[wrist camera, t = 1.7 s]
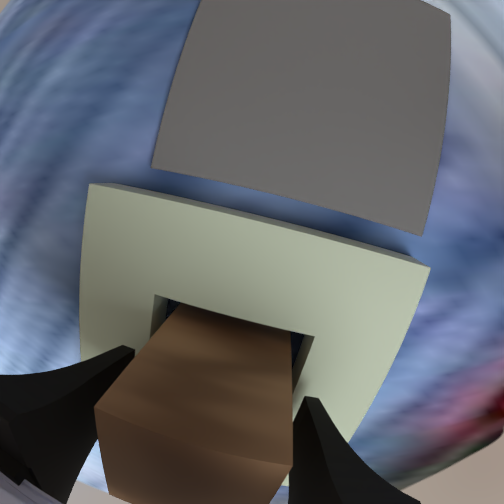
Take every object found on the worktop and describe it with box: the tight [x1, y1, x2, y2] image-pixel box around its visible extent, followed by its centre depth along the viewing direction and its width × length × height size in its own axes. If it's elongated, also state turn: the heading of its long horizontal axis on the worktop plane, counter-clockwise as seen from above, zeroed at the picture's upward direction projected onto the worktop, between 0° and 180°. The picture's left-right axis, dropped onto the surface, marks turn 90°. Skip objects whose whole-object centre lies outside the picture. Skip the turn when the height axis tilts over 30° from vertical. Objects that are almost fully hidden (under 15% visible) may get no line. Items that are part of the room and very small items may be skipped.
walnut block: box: [94, 302, 293, 504], centre depth 10 cm, size 5×5×8 cm
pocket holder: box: [79, 183, 431, 486], centre depth 13 cm, size 14×14×2 cm
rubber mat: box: [151, 0, 451, 237], centre depth 11 cm, size 12×12×1 cm
